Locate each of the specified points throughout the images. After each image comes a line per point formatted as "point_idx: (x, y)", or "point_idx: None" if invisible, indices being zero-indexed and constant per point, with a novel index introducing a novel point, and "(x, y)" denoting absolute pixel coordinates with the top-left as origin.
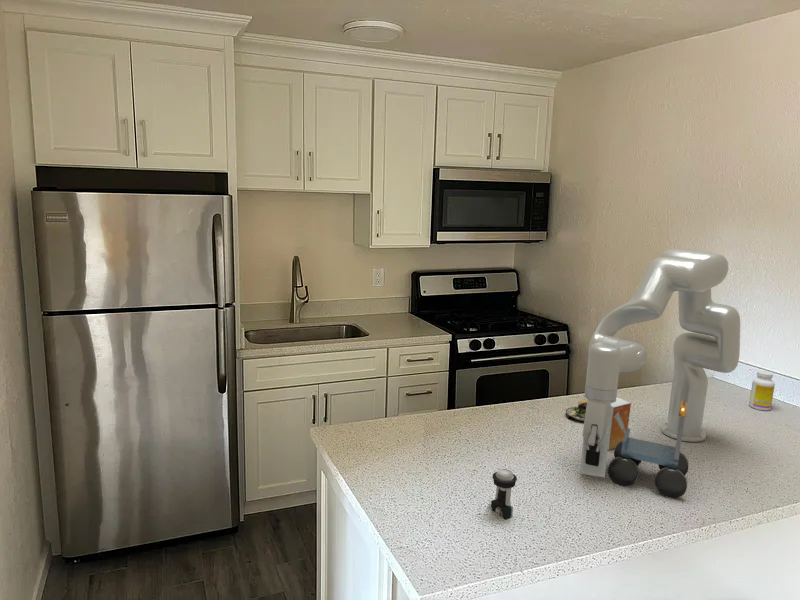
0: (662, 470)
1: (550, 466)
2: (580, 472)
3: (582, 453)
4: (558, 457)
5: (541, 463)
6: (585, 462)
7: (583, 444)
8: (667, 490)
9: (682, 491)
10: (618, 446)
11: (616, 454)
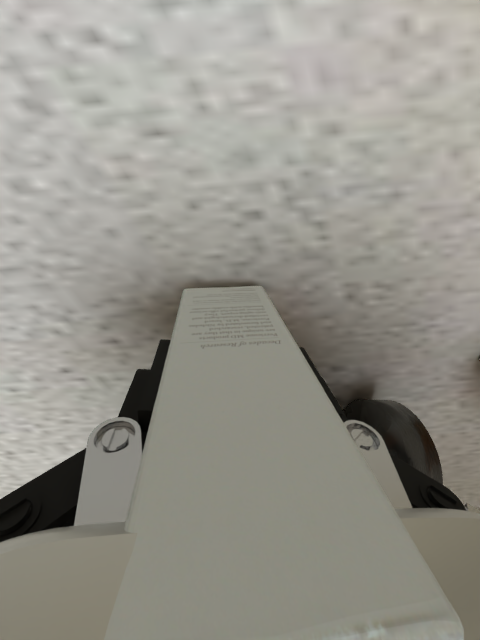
0: None
1: (254, 104)
2: (184, 290)
3: (170, 347)
4: (387, 148)
5: (276, 25)
6: (160, 341)
7: (155, 405)
8: None
9: None
10: (403, 455)
11: (380, 418)
